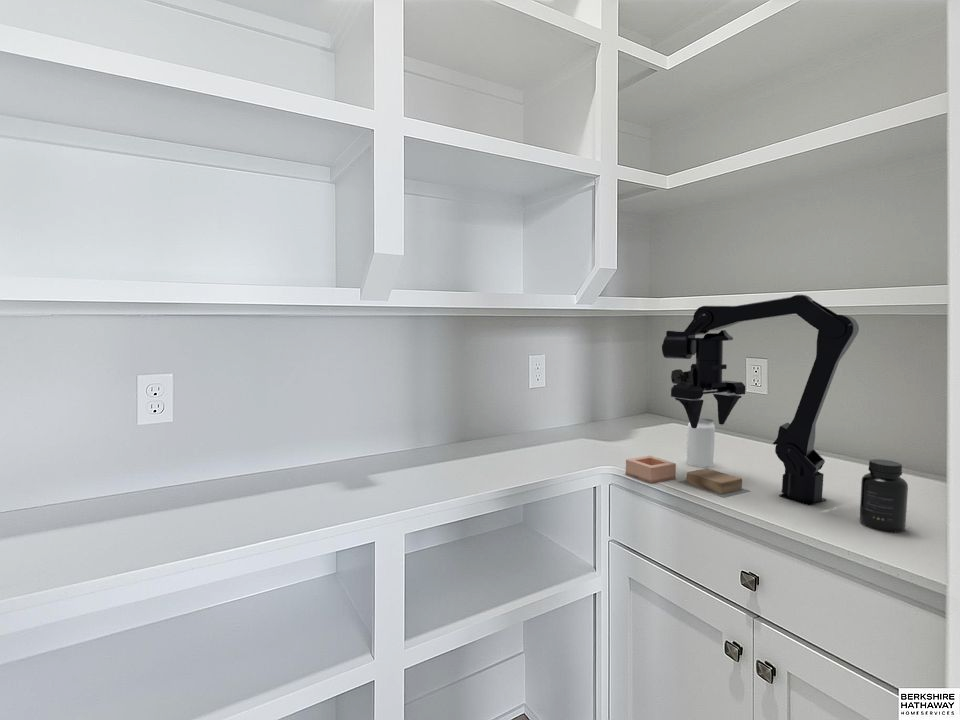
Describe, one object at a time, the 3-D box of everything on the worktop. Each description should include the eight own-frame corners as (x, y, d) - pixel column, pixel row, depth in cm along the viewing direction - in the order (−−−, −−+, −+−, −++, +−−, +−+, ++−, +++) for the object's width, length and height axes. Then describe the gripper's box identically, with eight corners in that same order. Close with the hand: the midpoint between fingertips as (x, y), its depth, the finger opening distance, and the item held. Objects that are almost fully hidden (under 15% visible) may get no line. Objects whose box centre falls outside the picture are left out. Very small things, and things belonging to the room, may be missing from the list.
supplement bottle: (863, 516, 102) (867, 455, 101) (908, 526, 97) (913, 462, 96) (854, 525, 98) (859, 461, 97) (901, 536, 93) (906, 469, 92)
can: (684, 466, 136) (686, 420, 135) (687, 460, 141) (689, 416, 140) (712, 470, 133) (714, 423, 132) (714, 463, 138) (716, 418, 137)
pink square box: (675, 480, 124) (675, 463, 124) (650, 485, 120) (651, 467, 120) (649, 471, 131) (649, 455, 131) (625, 475, 127) (626, 459, 127)
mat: (750, 492, 115) (750, 490, 115) (723, 499, 111) (723, 497, 111) (703, 478, 126) (703, 476, 126) (677, 483, 122) (677, 481, 122)
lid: (741, 489, 116) (742, 478, 116) (720, 494, 113) (721, 483, 113) (706, 478, 124) (707, 468, 124) (686, 482, 121) (686, 472, 120)
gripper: (707, 356, 134) (706, 417, 135) (653, 359, 126) (652, 424, 127) (747, 359, 124) (746, 424, 125) (691, 362, 116) (690, 432, 117)
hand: (707, 426), depth 124 cm, fingers open, 9 cm apart
